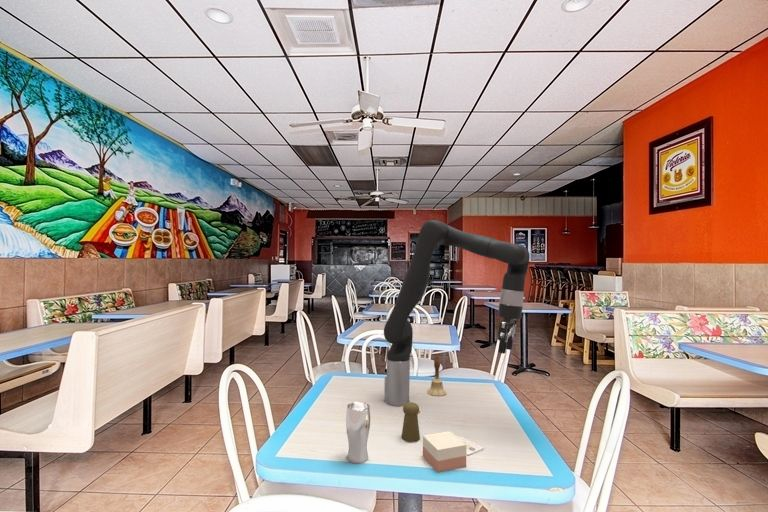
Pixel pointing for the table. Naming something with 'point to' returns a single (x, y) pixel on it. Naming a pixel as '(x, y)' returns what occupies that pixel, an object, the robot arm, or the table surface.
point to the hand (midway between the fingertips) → (505, 351)
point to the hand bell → (436, 381)
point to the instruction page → (470, 446)
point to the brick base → (444, 463)
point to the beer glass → (357, 431)
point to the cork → (410, 423)
